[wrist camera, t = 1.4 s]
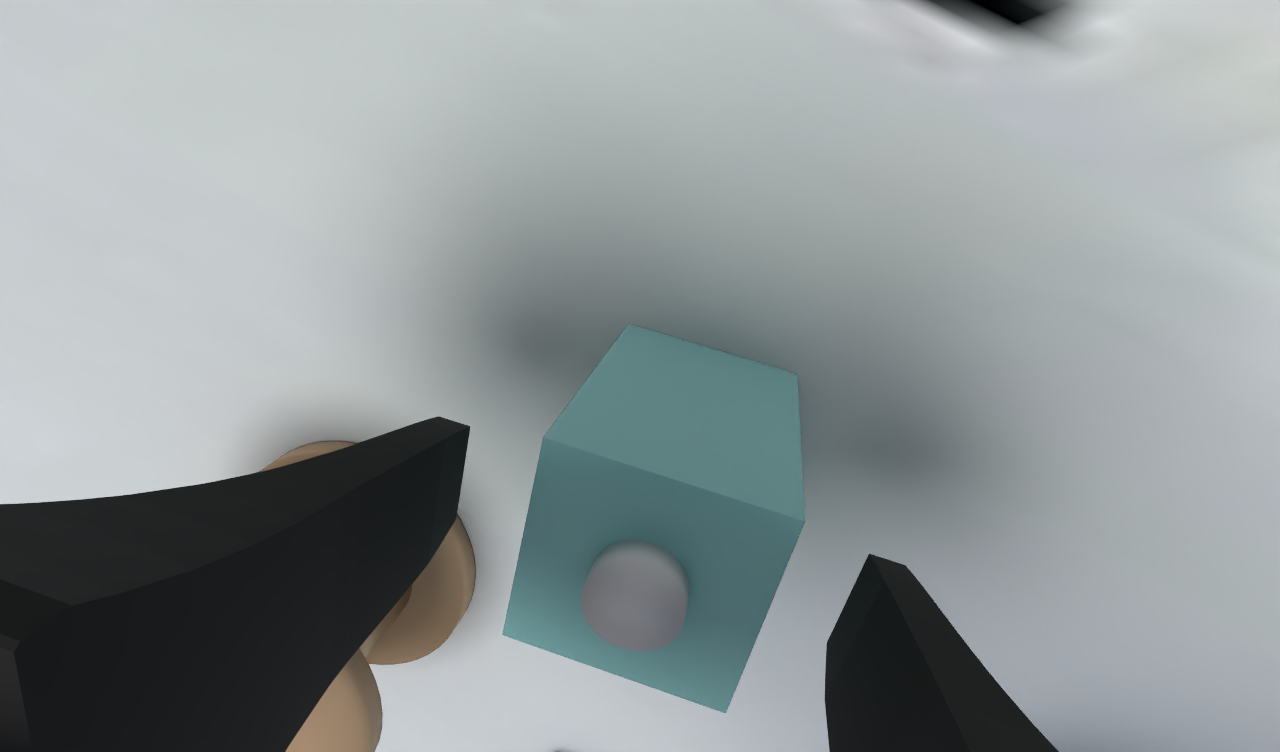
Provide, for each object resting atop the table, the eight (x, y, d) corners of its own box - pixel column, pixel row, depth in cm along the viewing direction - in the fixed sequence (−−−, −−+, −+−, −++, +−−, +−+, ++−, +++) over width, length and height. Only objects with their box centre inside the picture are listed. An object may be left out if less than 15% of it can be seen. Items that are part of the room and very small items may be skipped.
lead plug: (797, 374, 15) (806, 546, 9) (745, 516, 17) (723, 744, 11) (629, 323, 15) (529, 456, 9) (593, 467, 17) (488, 660, 11)
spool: (491, 487, 18) (374, 637, 13) (458, 674, 21) (350, 859, 15) (255, 409, 18) (52, 521, 13) (254, 601, 21) (85, 755, 16)
